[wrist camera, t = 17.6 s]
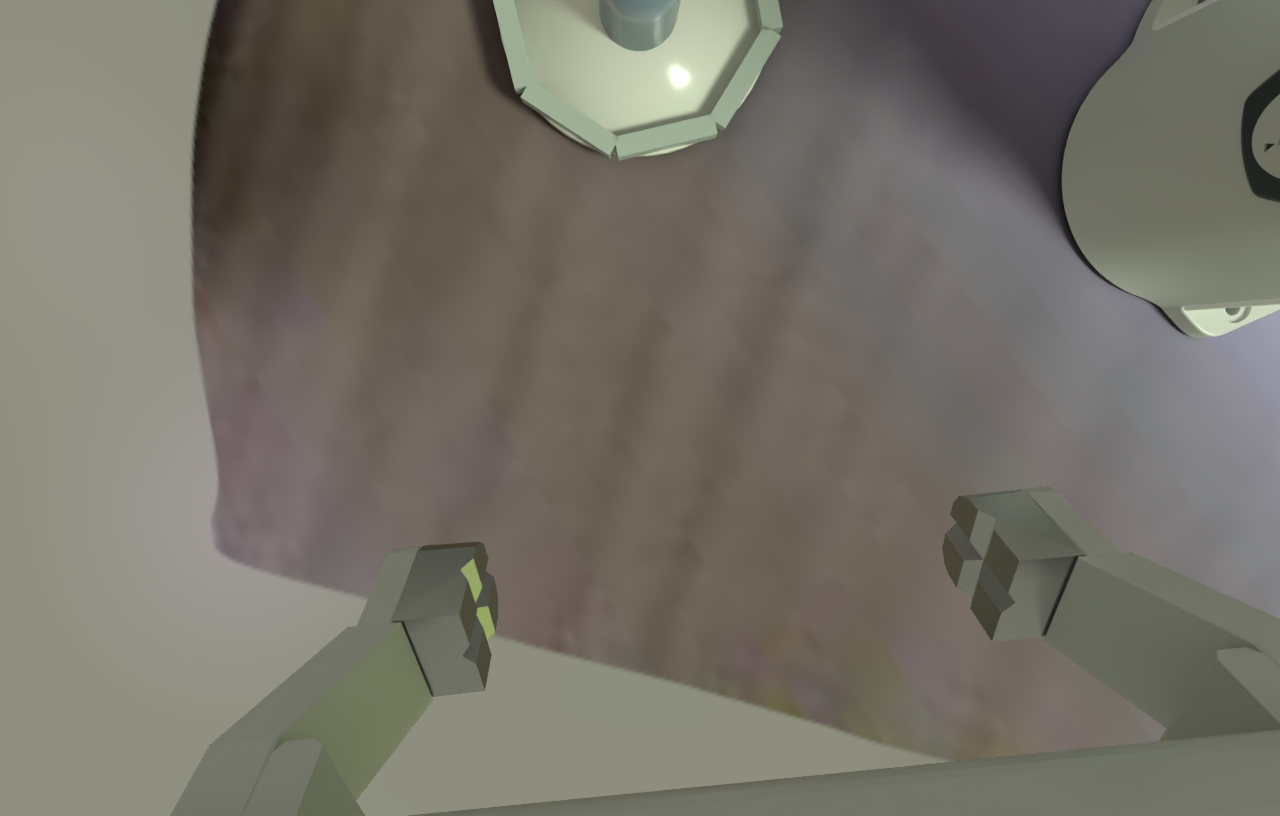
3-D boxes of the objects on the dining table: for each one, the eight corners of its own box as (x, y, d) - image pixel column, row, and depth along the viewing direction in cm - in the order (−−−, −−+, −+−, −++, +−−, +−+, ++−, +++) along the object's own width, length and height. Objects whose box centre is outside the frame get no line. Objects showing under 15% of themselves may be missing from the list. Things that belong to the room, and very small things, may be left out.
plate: (739, -157, 31) (746, -185, 29) (792, 127, 33) (801, 116, 31) (470, -95, 31) (461, -119, 29) (539, 186, 33) (534, 178, 31)
